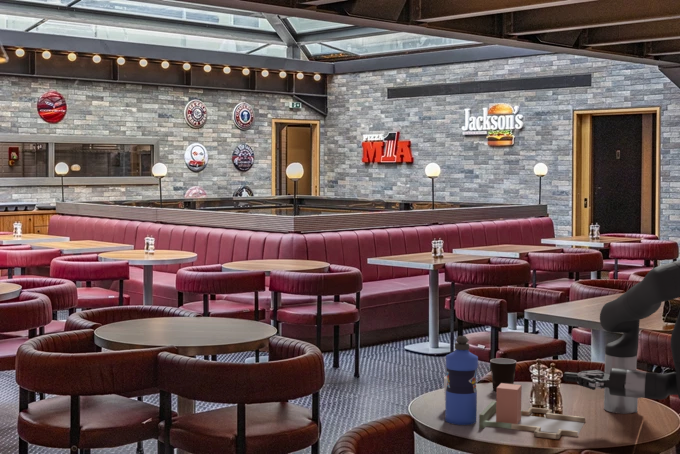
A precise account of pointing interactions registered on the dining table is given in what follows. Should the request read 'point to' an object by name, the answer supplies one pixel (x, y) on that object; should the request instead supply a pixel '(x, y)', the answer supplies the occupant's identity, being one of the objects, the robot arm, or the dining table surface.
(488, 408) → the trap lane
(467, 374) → the water bottle
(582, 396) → the dining table surface
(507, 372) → the coffee mug
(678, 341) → the robot arm
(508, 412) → the pink rectangular block
